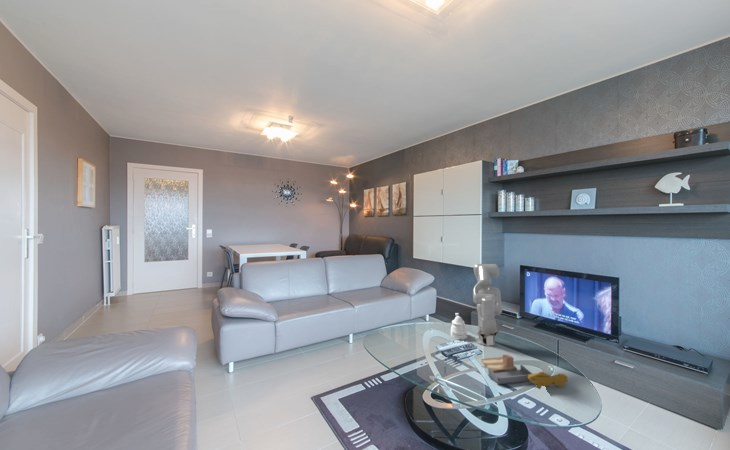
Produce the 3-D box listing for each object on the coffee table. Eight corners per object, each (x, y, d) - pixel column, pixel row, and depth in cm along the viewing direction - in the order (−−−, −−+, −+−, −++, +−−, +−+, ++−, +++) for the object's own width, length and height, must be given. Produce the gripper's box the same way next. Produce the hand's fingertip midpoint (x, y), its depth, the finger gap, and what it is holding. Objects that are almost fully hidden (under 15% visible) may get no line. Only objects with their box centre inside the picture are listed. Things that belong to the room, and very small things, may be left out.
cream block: (483, 342, 194) (483, 333, 194) (489, 341, 195) (489, 332, 194) (487, 345, 190) (486, 336, 189) (493, 344, 190) (493, 336, 190)
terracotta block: (502, 363, 188) (502, 354, 188) (509, 363, 189) (509, 354, 188) (506, 367, 184) (506, 358, 183) (513, 366, 184) (513, 357, 184)
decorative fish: (528, 387, 164) (532, 370, 164) (525, 384, 167) (528, 367, 167) (566, 393, 165) (569, 376, 165) (562, 390, 168) (565, 373, 168)
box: (488, 374, 181) (488, 368, 181) (521, 370, 183) (521, 364, 183) (498, 385, 170) (498, 378, 170) (533, 381, 172) (533, 374, 172)
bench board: (481, 361, 195) (481, 359, 195) (503, 359, 197) (503, 356, 197) (492, 373, 182) (492, 370, 181) (516, 370, 183) (516, 367, 183)
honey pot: (447, 334, 240) (446, 312, 239) (460, 331, 243) (460, 310, 242) (456, 340, 227) (456, 318, 226) (470, 337, 231) (470, 315, 230)
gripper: (496, 312, 195) (497, 338, 197) (472, 315, 193) (473, 341, 195) (503, 317, 188) (503, 344, 189) (478, 319, 186) (479, 347, 188)
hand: (488, 342), depth 192 cm, fingers closed on cream block, 4 cm apart
